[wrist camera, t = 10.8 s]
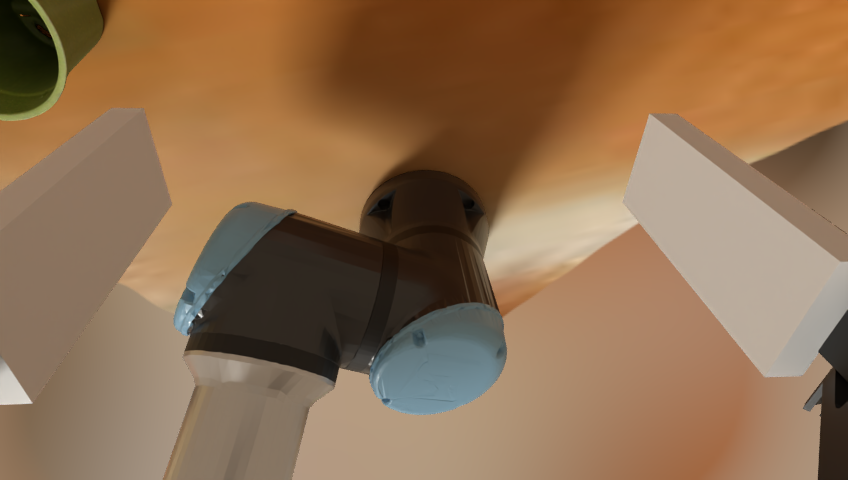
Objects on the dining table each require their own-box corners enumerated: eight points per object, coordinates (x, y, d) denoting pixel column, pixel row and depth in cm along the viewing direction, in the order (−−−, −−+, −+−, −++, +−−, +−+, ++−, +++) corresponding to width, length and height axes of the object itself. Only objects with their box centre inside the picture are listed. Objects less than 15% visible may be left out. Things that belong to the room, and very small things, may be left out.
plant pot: (-29, -96, 38) (-161, -96, 29) (135, -36, 41) (63, -19, 32) (-13, 52, 44) (-117, 91, 35) (129, 95, 47) (67, 141, 38)
